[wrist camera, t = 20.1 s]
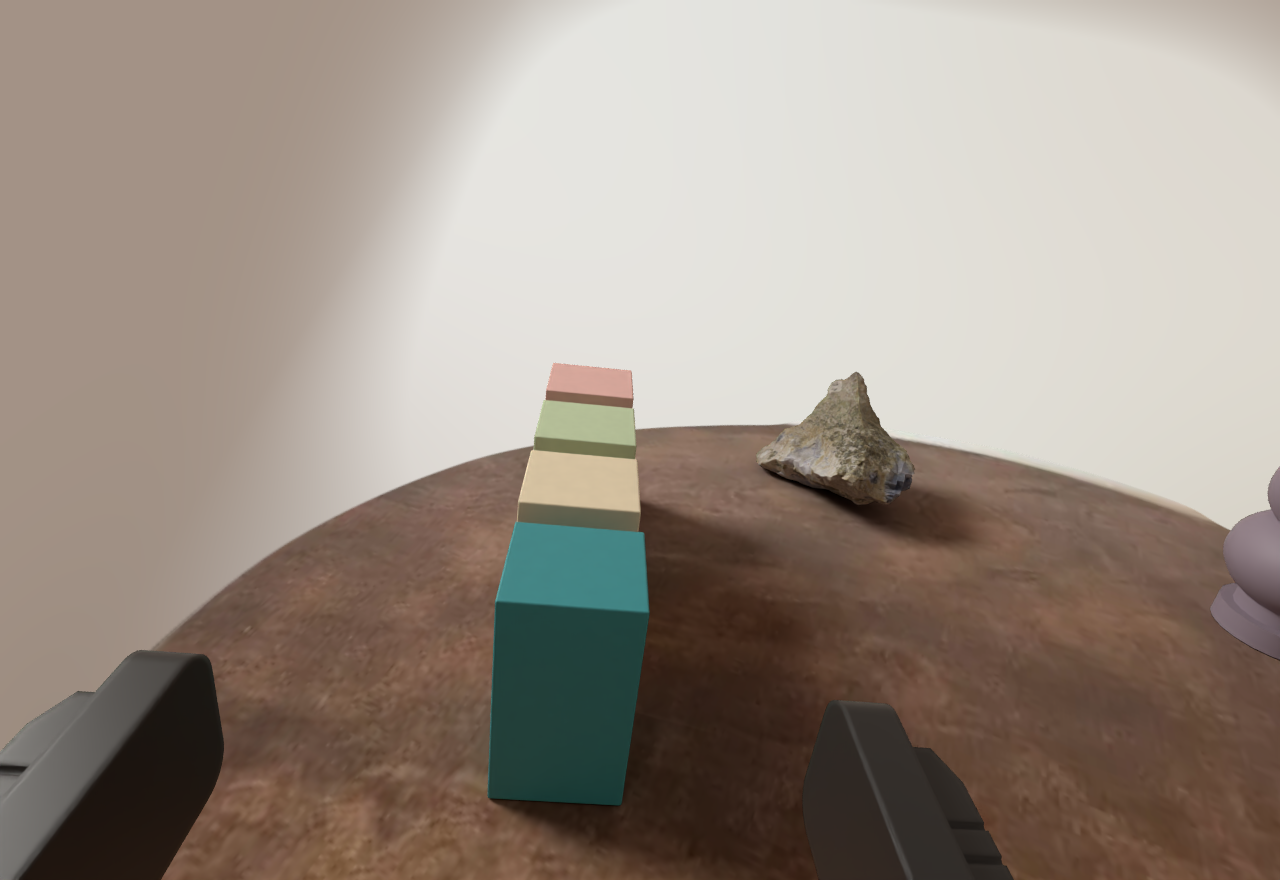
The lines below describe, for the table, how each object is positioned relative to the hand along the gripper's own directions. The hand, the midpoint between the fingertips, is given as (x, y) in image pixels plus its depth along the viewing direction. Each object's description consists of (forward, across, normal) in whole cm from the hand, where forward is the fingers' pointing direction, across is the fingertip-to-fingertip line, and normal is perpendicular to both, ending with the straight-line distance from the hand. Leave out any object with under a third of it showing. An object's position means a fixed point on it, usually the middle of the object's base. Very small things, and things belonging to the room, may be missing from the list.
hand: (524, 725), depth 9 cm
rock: (+39, -19, +16) cm, 46 cm away
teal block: (+14, -1, +16) cm, 21 cm away
